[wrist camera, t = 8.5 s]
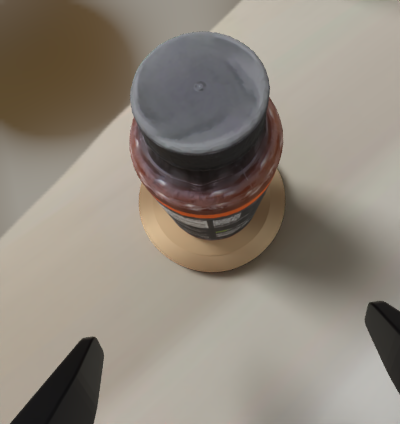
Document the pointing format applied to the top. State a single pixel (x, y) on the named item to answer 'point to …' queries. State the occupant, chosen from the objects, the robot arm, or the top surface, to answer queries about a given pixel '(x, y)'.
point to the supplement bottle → (205, 132)
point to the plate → (216, 249)
